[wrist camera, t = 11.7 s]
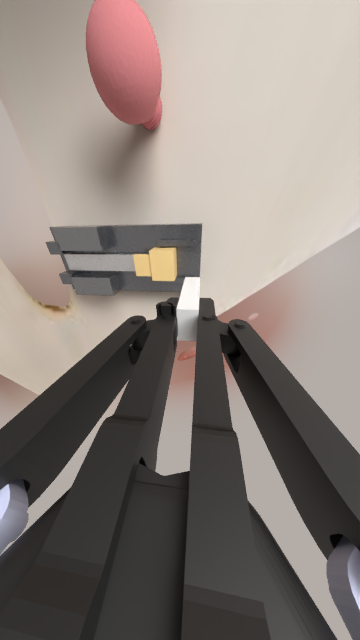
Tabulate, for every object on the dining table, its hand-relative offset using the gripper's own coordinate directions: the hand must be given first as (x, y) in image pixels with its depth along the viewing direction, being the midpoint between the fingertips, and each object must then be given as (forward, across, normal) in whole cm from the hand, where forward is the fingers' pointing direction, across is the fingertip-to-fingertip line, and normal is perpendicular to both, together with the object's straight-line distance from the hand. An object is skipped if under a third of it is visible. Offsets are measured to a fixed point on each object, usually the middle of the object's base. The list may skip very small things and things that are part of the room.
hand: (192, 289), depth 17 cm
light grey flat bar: (+15, -17, -1) cm, 22 cm away
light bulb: (+20, -8, +19) cm, 29 cm away
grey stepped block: (+19, -13, -1) cm, 23 cm away
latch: (+15, -7, -1) cm, 17 cm away
